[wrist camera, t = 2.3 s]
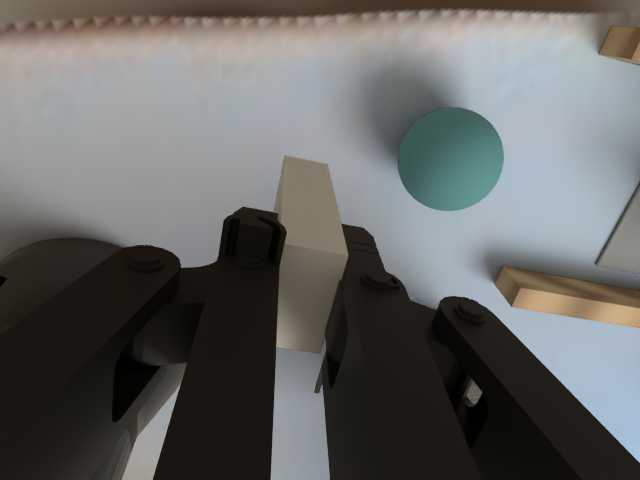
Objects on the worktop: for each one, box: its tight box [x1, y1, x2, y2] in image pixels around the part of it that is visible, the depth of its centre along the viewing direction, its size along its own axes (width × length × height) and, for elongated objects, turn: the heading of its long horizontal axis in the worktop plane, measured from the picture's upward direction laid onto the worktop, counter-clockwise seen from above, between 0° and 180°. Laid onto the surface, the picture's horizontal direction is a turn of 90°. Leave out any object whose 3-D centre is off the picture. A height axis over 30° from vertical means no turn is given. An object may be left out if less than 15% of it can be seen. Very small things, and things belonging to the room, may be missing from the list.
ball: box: [398, 108, 504, 211], centre depth 27 cm, size 6×6×6 cm
